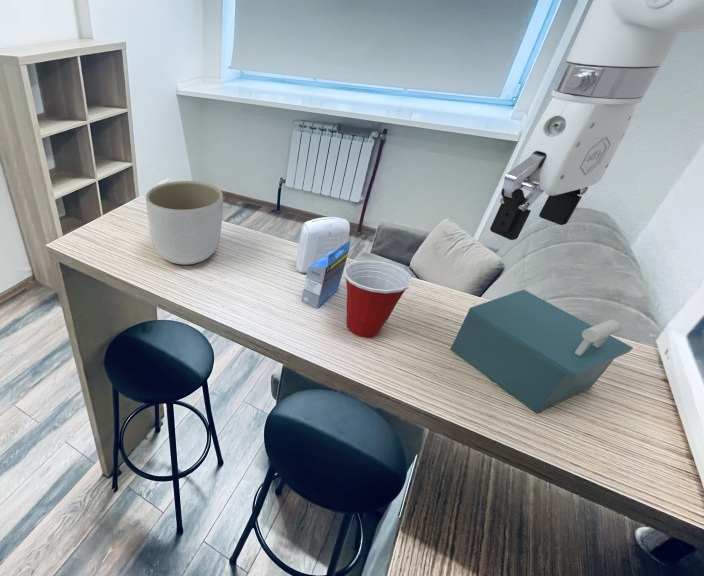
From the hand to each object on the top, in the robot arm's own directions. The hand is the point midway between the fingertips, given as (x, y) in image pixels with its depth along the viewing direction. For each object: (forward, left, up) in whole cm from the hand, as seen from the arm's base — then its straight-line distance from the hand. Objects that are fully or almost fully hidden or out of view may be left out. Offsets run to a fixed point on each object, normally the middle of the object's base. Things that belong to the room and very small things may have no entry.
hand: (527, 227), depth 53 cm
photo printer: (+34, +3, -25) cm, 42 cm away
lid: (-5, -8, -16) cm, 19 cm away
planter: (+52, +28, -25) cm, 64 cm away
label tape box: (+25, +9, -25) cm, 36 cm away
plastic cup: (+14, +8, -25) cm, 30 cm away
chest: (-4, -8, -25) cm, 26 cm away
